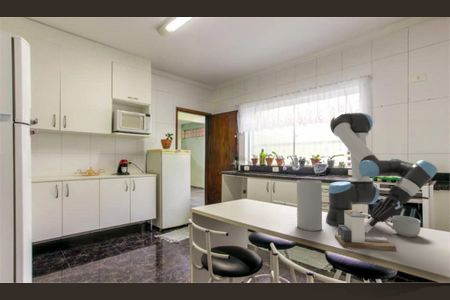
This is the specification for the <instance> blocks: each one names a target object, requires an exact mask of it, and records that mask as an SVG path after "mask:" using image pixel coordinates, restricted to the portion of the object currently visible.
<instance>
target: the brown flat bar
mask: <svg viewBox="0 0 450 300" xmlns="http://www.w3.org/2000/svg"><path fill="white" fill-rule="evenodd" d="M381 237H382V236H381ZM381 237H365V240H364V241H370V242H387V243H389V242H390V241H389V239H388V238H386V237H383V238H381ZM339 238H340V239H341V240H342V237H341V236H340V235H339Z"/></svg>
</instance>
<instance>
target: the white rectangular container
mask: <svg viewBox="0 0 450 300" xmlns="http://www.w3.org/2000/svg"><path fill="white" fill-rule="evenodd" d="M365 218H366V215H364V214H362V213H360V212H359V211H357V210H352V211H351V210H348V211H347V210H344V223H345V226H347V227H348V228H349V229H350V230H351V234H352V242H361V243H364V240H365V236H366V235H365V234H366V232H365V223H366V222H365Z"/></svg>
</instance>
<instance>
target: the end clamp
mask: <svg viewBox="0 0 450 300" xmlns="http://www.w3.org/2000/svg"><path fill="white" fill-rule="evenodd" d="M337 234H338V236H339V235H340V236H341V237H342V240H343V241H344V242H352V234H351V230H350V229H349V228H348V227H347V226H345V225H338V226H337Z"/></svg>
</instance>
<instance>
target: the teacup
mask: <svg viewBox="0 0 450 300" xmlns="http://www.w3.org/2000/svg"><path fill="white" fill-rule="evenodd" d="M388 220H390V221H391V223H392V224H389V223H388ZM384 223H385V225H386V226H388V227H389V228H391V229H392V230H394V231H395V232H396V233H397V234H398V235H400V236H402V237H406V238H414V237H417V236H418V235H420V233H421V223H422V222H421V220H420V219H418V218H415V217H413V216H406V215H394V216H393V215H392V217H391V216H390V217H389V218H388V219H386V220H385V221H384Z"/></svg>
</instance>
